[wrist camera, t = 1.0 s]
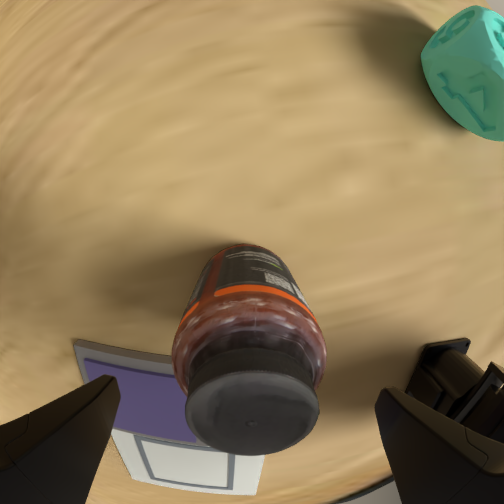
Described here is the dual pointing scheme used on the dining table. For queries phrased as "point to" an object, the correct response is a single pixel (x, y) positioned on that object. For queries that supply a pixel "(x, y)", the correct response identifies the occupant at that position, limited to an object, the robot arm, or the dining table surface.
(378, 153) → the dining table surface
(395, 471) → the robot arm
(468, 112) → the decorative dice
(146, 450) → the form board
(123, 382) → the ink pad
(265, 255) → the supplement bottle
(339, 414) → the dining table surface
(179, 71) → the dining table surface
